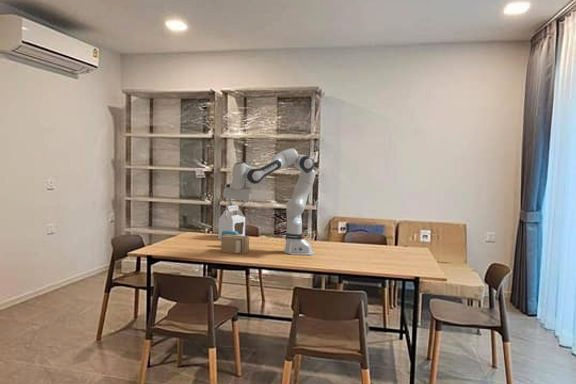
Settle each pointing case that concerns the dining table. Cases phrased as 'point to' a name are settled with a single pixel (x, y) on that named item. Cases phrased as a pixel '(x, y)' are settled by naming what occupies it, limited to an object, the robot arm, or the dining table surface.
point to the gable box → (232, 221)
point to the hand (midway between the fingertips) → (236, 205)
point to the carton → (234, 243)
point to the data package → (229, 232)
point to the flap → (238, 245)
